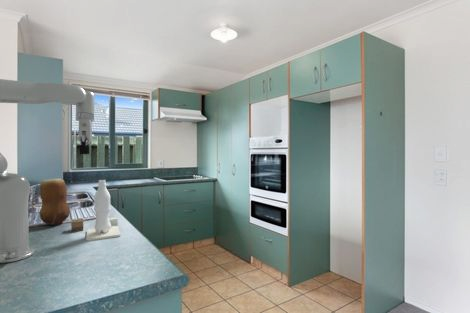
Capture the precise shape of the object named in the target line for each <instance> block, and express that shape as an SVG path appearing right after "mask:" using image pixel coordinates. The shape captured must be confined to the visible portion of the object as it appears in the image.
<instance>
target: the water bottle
mask: <svg viewBox="0 0 470 313" xmlns="http://www.w3.org/2000/svg"><path fill="white" fill-rule="evenodd" d="M97 185H98V188H97V189H96V192H95V194H94V196H93V199H94V200H93V204H94V206H93V207H94V208H93V210H94V212H95V218H96V219H95V224H94V226H93V227H94V228H93V229H95V231H96V232H97V233H101V231H103V233H106V232H107V231H109V230H110V228H111V223H110V221H109V218H110V211H111V198H112V197H111V194H110V192H109V190H108V189H107V182H106V179H99V180H98V184H97Z"/></svg>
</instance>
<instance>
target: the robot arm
mask: <svg viewBox="0 0 470 313" xmlns="http://www.w3.org/2000/svg"><path fill="white" fill-rule="evenodd" d="M1 103H2V104H25V105H29V104H31V105H40V104H49V103H60V104H62V105H65V106H75V121H78V141H80V142H79V143H80V144H79V155H89V154H90V143H91V142H92V141H93V123H92V122H95V94H94V93H93V92H92V91H91V90H90V91H89V90H84V88H83V87H81V86H80V85H76V84H69V83H56V82H55V83H54V82H53V83H51V82H37V81H36V82H35V81H23V80H12V79H5V78H4V79H3V78H0V104H1ZM8 164H9V163H8V161H7V158H6V157H5V156H4V155H3V154H2V153H1V152H0V264H5V263H11V262H17V261H22V260H24V259H27V258H29V257H31V256H32V255H33V254H34V253H35V249H34V248H32V247H30V237H29V236H30V235H29V234H30V231H29V229H30V228H29V227H30V226H29V202H30V201H29V199H30V193H31V183H30V181H29V179H28V178H26V176H24V175H22V174H19V173H11V172H8V171H7V169H8Z"/></svg>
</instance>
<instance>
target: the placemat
mask: <svg viewBox="0 0 470 313" xmlns="http://www.w3.org/2000/svg"><path fill="white" fill-rule="evenodd" d="M120 237H121V232H120V228H119V225H118V226H112V227H111V228H110V230H109V231H107V232H106V233H103V231H101V233H97V232H96V231H95V228H90V229H89V228H88V229H87V230H86V238H85V242H91V241H98V240H105V239H112V238H120Z"/></svg>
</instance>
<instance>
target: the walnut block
mask: <svg viewBox="0 0 470 313" xmlns="http://www.w3.org/2000/svg"><path fill="white" fill-rule="evenodd" d="M70 225H71V228H70V230H71V233H75V232H83V231H84V218H77V219H72V220H71V224H70Z"/></svg>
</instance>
